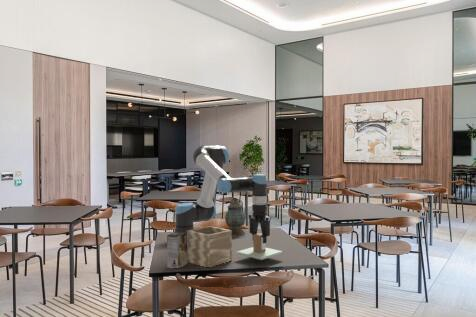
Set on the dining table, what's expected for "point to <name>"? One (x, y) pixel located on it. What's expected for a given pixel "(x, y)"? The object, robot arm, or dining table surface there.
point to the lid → (258, 249)
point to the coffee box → (176, 250)
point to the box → (209, 246)
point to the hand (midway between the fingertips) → (259, 248)
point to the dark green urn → (235, 217)
